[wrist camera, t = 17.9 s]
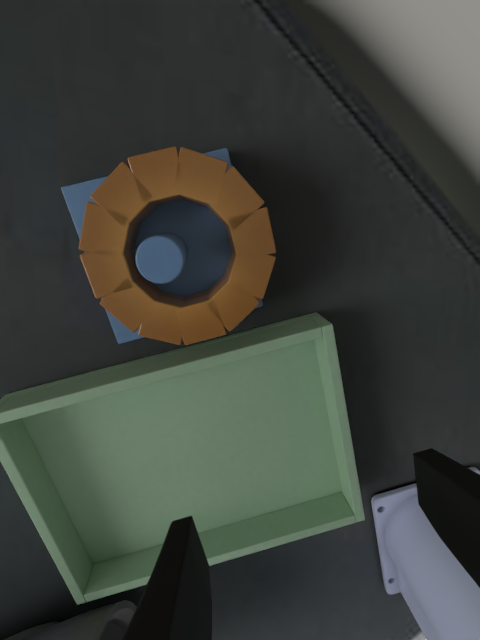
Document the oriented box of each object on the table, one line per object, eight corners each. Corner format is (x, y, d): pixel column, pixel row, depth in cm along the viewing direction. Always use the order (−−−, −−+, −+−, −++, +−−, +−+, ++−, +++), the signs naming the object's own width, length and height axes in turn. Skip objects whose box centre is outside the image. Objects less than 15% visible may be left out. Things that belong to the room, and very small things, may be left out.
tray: (316, 311, 20) (332, 323, 17) (348, 489, 24) (365, 520, 21) (6, 393, 19) (-23, 419, 17) (90, 564, 23) (76, 605, 20)
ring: (278, 305, 18) (290, 317, 16) (130, 344, 18) (119, 363, 16) (242, 142, 16) (250, 127, 14) (72, 183, 16) (48, 176, 13)
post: (260, 302, 19) (282, 331, 14) (122, 338, 19) (92, 381, 14) (225, 151, 17) (237, 118, 12) (68, 189, 17) (7, 173, 11)
